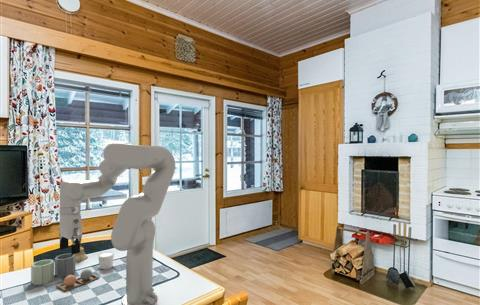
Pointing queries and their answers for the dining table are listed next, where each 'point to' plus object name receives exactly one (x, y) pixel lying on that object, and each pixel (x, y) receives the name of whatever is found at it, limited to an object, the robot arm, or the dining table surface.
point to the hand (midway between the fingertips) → (69, 251)
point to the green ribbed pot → (42, 272)
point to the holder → (77, 283)
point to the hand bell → (80, 255)
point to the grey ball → (86, 274)
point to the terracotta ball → (70, 280)
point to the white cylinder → (106, 260)
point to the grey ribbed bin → (64, 265)
